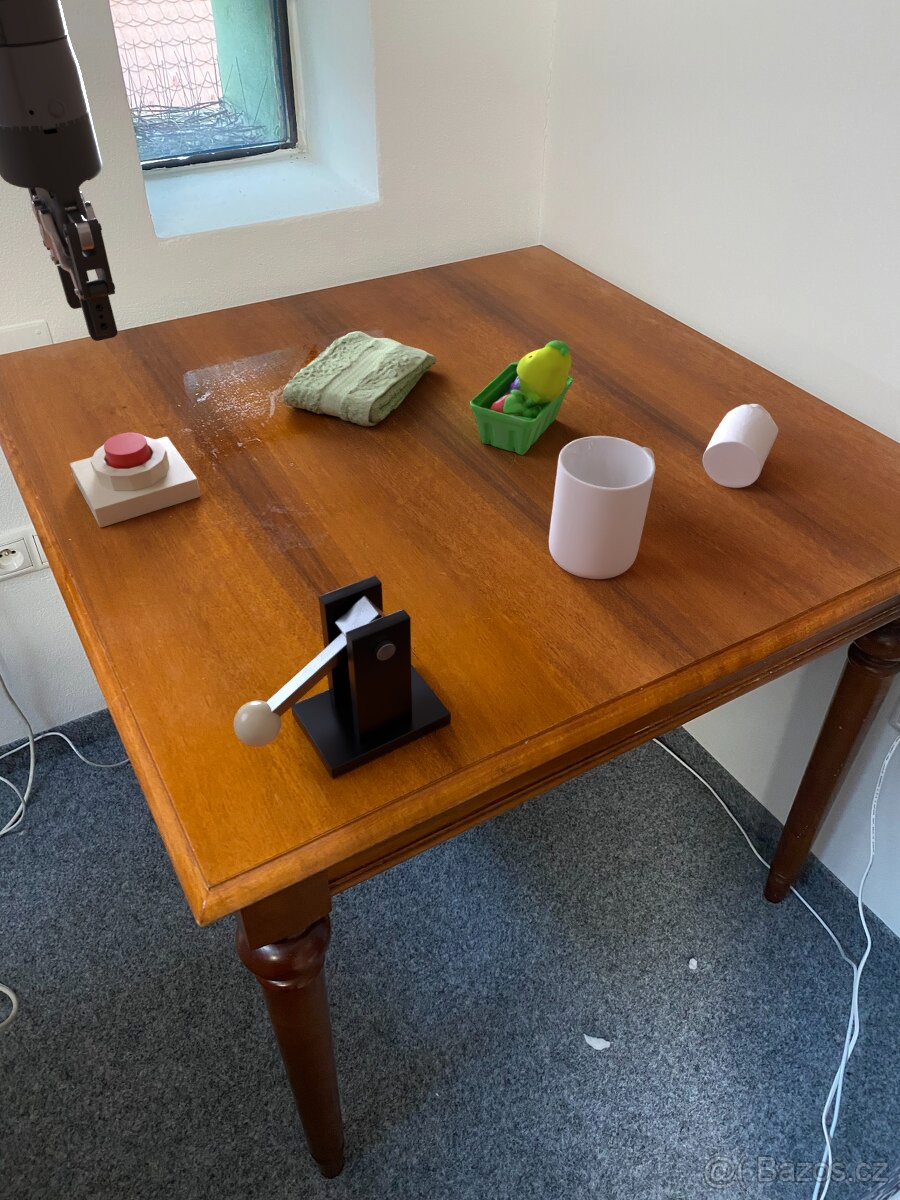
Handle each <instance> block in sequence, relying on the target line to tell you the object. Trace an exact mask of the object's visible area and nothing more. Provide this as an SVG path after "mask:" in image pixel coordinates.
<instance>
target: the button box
mask: <svg viewBox="0 0 900 1200" xmlns="http://www.w3.org/2000/svg"><path fill="white" fill-rule="evenodd" d="M143 436H144V435H143ZM144 437H145V438H146V440H147V444H148V448H149V452H150V459H149V461H147V462H146V463H144V464H143V465H140V466H137V467H133V468H130V469H116V468H113V467H111V466H110V465H109V463H108V460H107V457H106V453H105V450H104V444H103V445H102V446H100V447H98V448H96V449H95V451H94V453H93V455H92V456H91V457H87V458H83V459H80V460H77V461H76V460H75V461H72V462H70V463H69V466H70V470H71V473H72V475H73V479H74V481H75V483H76V485H77V487H78V489H79V491H80V493H81V495H82V497H83V498H84V500H85V502H86V504H87V506H88V508H89V510H90V511H91V513H92V515H93V517H94V519H95V521H96V523H97V525H98V526H99V528H101V529H102V528H104V527H107V526H111V525H114V524H117V523H120V522H124V521H127V520H131V519H133V518H136V517H140V516H143V515H145V514H149V513H153V512H156V511H159V510H162V509H165V508H168V507H172V506H175V505H179V504H181V503H185V502H188V501H190V500H195V499H197V498H201V496H202V495H201V490H200V485H199V481H198V478H197V476H196V475H195V473H194V472H193V470H191V468H190V466H189V465H188V464H187V463H186V461H185V460H184V458H183V457H182V455H181V454H180V453H179V451H178V450H177V449H176V447H175V445H174V443H172V441H171V440H170V438H169V437H168V436H163V437H160V438H156V439H154V438H151V437H148V436H144Z"/></svg>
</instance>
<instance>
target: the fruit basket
mask: <svg viewBox="0 0 900 1200" xmlns="http://www.w3.org/2000/svg"><path fill="white" fill-rule="evenodd" d="M570 352H571V350H570V347H569V345H568V344H567V343H566V342H565V341H563V340H556V339H555V340H551V341H549V342H547V343H546V344H545V346H544V347H543V348H539V349H536V350H533V351H531V352H528V353H527V354H525V355H524V356H523V357H522V358H520V360H519V361H514V362H511V363H509V364H508V365H507V366H506V367H505V368H504V369H503V370H502V371H501V372H500V373H499V374H497V376H496V377H495V378H494V379H493V380H492V381H490V382H489V383H488V384H487V385H486V386H485V387H484V388H483V389H481V391H480V392H478V394H476V395H475V396H474V397H473V398H472V399H471V400H470V401H469V405H470V408H471V411H472V413H473V415H474V417H475V422H476V425H477V430H478V433H479V438H480V441H481V443H482V444H484V445H491V446H493V447H495V448H498V449H501V450H504V451H506V452H507V451H508V452H513V453H514V452H515V453H516V454H518V455H521V456H523V455H525V454H526V453H527V452H528V451H529V450H530V449H531V448H530V447H531V446H532V445H534V444H535V443H536V442H537V440H538V439H539V437H540V436H541V435H543V434H544V433H545V432H546V430H547V429H548V428H549V426H550V425H552V424H553V423H554V421H555V420H556V418H557V417H558V413H559V411H560V409H561V406H562V404H563V402H564V399H565V397H566V394H567V393H568V390H569V389H570V388H571V386H572V383H573V381H574V378H573V377H571V376H570V371H571V367H572V356H571V353H570Z"/></svg>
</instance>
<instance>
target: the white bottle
mask: <svg viewBox="0 0 900 1200" xmlns="http://www.w3.org/2000/svg"><path fill="white" fill-rule="evenodd" d="M778 434H779V427H778V425H777V424H776V422H775V421H774V419H773V418H772V415H771V414H770V412H768V411H767V409H766V408H764V406H763V405H761V404H759V403H750V404H745V403H744V404H741V405H739V406H737V407H734V408H732V409H731V410H730V411H728V412H727V413H726V414H725V415H724V417H723V418H722V420H721V421H720V423H719V424H718V427H716V429H715V431H714V433H713V434H712V437H711V439H710V441H709V443H708V445H707V447H706V449H705V451H704V453H703V455H702V466H703V469H704V471H705V473H706V474H707V476H708V477H709V478H710V479H711V480H712V481H714V482H715V483H716V484H718V485H720V486H721V487H724V488H725V487H727V488H734V489H739V488H740V489H742V488H745V487H749V486H751V485H753V484H755V482H756V481H757V480H758V478H759V477H760V475H761V472H762V470H763V467H764V465H765V463H766V461H767V458H768V456H769V454H770V452H771V450H772V447H773V446H774V444H775V441H776V440H777V438H778Z"/></svg>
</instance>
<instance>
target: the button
mask: <svg viewBox="0 0 900 1200" xmlns="http://www.w3.org/2000/svg"><path fill="white" fill-rule="evenodd" d="M145 437H146V436H145ZM145 437H144V435H143V434H140V433H137V432H122V433H118V434H115V435H113V436H112V437H109V438H108V439H107V440H106V441H105V442H104V444H103V445H104V450H105V453H106V457H107V460H108V463H109V465H110V466H111V467H113V468H116V469H130V468H133V467H137V466H140V465H143V464H144V463H146V462H147V461H149V459H150V452H149V448H148V444H147V440H146V438H145Z"/></svg>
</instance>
